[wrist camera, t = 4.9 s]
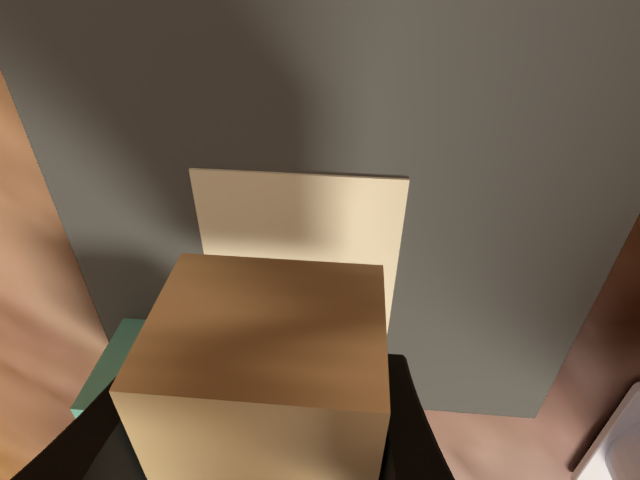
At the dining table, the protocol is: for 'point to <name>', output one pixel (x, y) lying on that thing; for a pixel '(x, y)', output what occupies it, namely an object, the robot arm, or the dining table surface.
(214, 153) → the grey flat slab
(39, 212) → the dining table surface
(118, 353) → the teal cube
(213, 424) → the maple block
